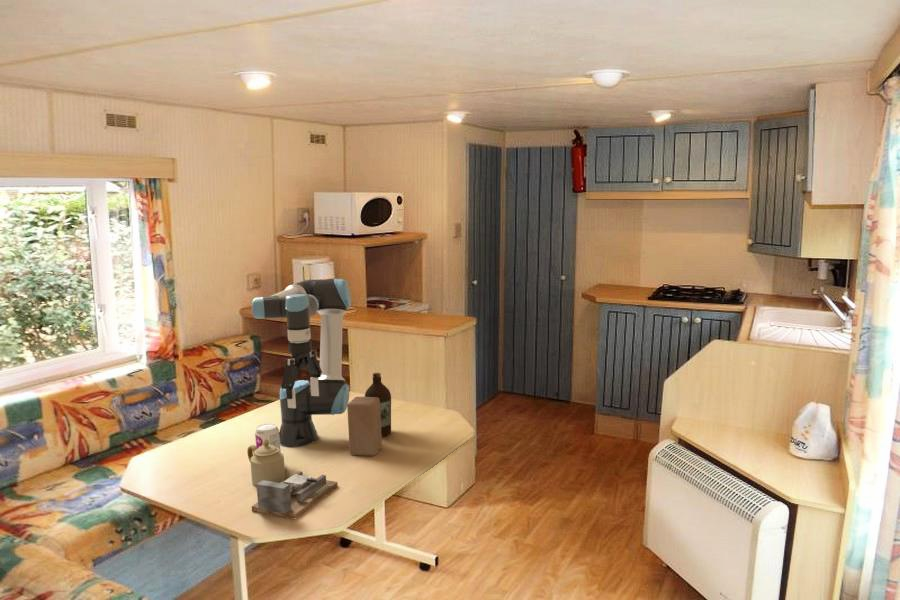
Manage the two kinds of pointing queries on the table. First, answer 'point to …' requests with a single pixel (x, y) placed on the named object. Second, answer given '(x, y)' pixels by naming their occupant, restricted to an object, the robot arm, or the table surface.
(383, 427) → the olive oil
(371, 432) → the block
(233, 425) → the table surface
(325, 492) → the gauge bed
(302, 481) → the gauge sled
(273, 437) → the supplement can
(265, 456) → the sugar bowl
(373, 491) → the table surface
